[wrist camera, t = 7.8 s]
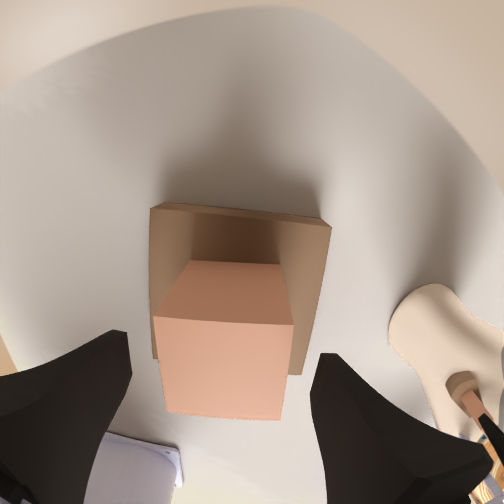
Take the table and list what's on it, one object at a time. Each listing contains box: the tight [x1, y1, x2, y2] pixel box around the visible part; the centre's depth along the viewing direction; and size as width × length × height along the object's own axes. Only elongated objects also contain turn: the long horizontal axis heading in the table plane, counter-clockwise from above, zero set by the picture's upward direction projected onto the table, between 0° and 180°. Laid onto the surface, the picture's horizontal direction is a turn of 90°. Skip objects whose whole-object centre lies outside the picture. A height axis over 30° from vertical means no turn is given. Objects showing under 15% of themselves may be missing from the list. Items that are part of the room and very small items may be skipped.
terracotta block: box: [153, 260, 294, 420], centre depth 13 cm, size 4×4×6 cm
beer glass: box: [388, 284, 504, 504], centre depth 11 cm, size 7×7×15 cm
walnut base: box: [149, 202, 332, 375], centre depth 17 cm, size 9×9×3 cm
